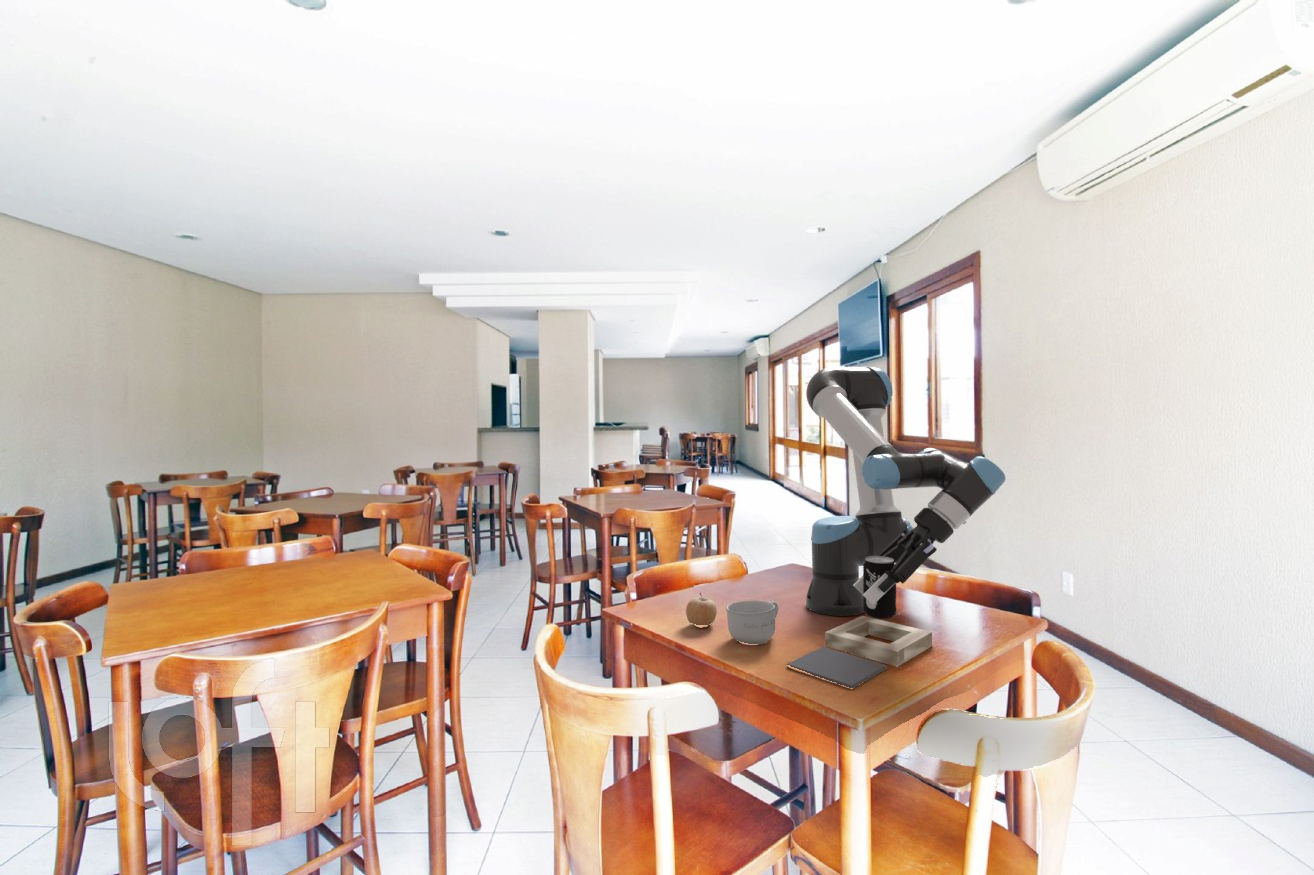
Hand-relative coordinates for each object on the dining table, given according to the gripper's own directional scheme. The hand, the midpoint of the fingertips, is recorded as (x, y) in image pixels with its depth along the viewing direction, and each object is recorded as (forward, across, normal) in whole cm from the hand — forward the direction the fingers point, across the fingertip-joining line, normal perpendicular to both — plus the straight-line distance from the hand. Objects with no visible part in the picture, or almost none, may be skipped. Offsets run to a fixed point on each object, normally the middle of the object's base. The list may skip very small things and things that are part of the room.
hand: (862, 594), depth 128 cm
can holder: (+6, 0, -10) cm, 12 cm away
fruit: (+32, +14, +16) cm, 39 cm away
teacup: (+24, +5, +7) cm, 25 cm away
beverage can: (+1, 0, -6) cm, 6 cm away
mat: (+14, -12, -2) cm, 18 cm away
